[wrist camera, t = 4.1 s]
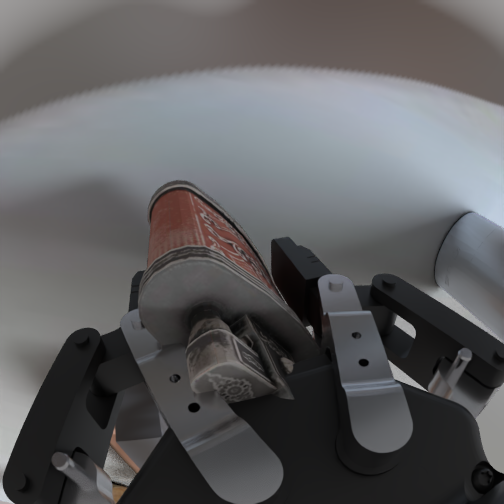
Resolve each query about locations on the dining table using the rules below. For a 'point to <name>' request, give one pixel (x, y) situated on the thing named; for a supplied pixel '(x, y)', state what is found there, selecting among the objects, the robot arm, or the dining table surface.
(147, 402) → the rail
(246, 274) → the lighter
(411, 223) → the dining table surface
